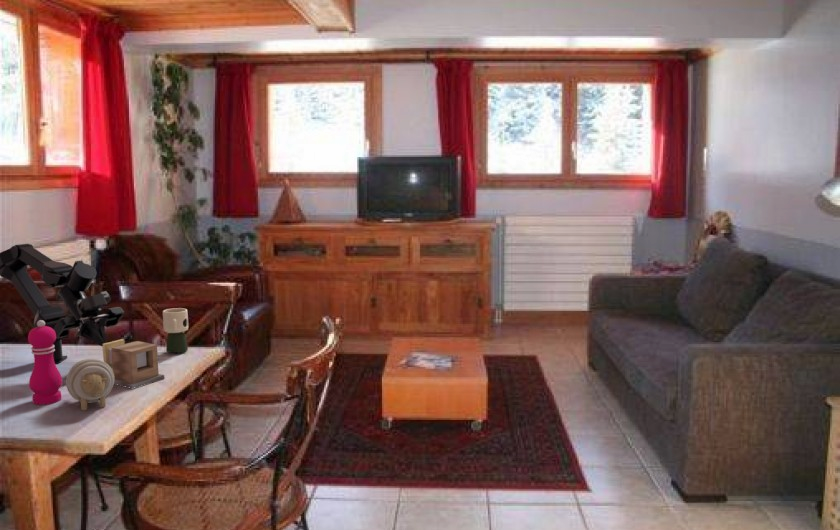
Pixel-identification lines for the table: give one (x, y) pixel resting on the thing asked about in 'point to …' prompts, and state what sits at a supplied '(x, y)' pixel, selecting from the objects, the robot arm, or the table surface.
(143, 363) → the tan drawer
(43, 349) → the pepper mill
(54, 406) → the table surface
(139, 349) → the wooden drawer box
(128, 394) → the table surface
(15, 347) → the table surface
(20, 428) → the table surface
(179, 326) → the character mug
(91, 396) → the toy sheep
